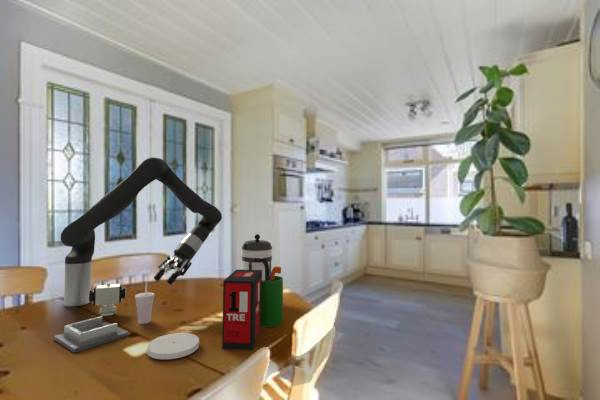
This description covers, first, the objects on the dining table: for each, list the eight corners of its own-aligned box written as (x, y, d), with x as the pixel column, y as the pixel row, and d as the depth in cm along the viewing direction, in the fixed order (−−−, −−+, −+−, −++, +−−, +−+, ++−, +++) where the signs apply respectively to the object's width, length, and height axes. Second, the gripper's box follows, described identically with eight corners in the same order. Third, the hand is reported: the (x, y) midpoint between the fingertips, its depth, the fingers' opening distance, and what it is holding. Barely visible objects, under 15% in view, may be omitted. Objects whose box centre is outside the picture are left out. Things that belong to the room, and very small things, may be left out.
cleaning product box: (252, 350, 94) (253, 281, 94) (222, 349, 94) (223, 280, 94) (261, 328, 110) (262, 270, 110) (235, 327, 110) (236, 269, 111)
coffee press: (229, 309, 129) (230, 235, 129) (250, 299, 144) (251, 232, 144) (267, 315, 122) (268, 237, 123) (285, 304, 137) (286, 234, 138)
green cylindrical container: (258, 317, 121) (259, 264, 121) (282, 316, 122) (283, 264, 122) (257, 327, 111) (258, 269, 111) (283, 326, 112) (284, 269, 112)
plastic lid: (146, 367, 84) (146, 357, 84) (147, 345, 96) (148, 336, 96) (201, 357, 89) (202, 348, 89) (196, 338, 102) (196, 330, 102)
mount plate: (53, 339, 99) (54, 326, 99) (105, 325, 111) (106, 313, 111) (74, 353, 90) (75, 338, 90) (128, 335, 102) (128, 322, 102)
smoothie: (158, 320, 116) (158, 281, 116) (142, 326, 110) (143, 285, 110) (145, 317, 119) (146, 279, 119) (130, 323, 113) (130, 283, 113)
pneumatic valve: (124, 314, 121) (125, 283, 122) (88, 319, 116) (89, 286, 117) (125, 310, 126) (126, 279, 127) (90, 314, 121) (91, 282, 122)
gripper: (172, 240, 132) (144, 273, 122) (194, 243, 124) (167, 278, 114) (183, 251, 136) (157, 284, 126) (205, 255, 128) (179, 290, 118)
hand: (162, 281), depth 120 cm, fingers open, 8 cm apart
